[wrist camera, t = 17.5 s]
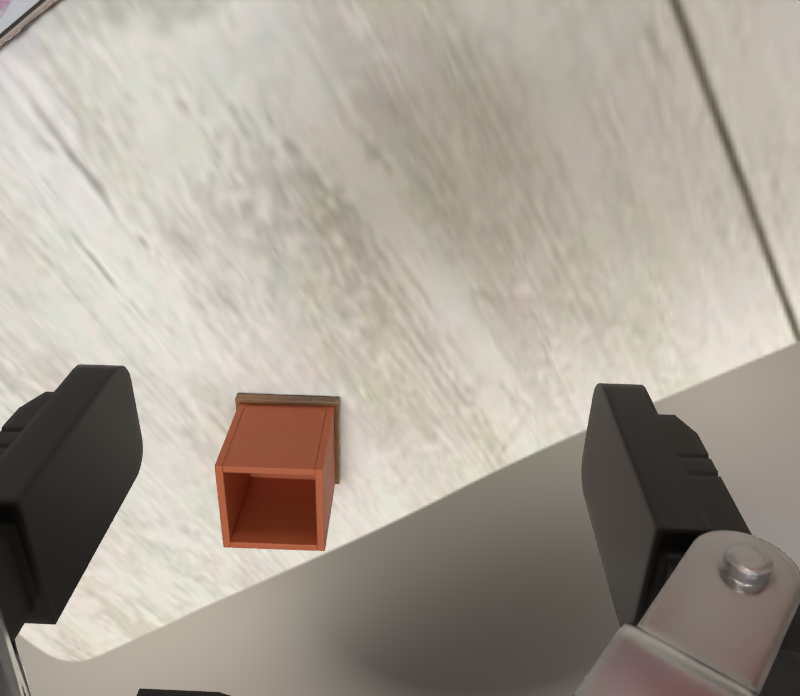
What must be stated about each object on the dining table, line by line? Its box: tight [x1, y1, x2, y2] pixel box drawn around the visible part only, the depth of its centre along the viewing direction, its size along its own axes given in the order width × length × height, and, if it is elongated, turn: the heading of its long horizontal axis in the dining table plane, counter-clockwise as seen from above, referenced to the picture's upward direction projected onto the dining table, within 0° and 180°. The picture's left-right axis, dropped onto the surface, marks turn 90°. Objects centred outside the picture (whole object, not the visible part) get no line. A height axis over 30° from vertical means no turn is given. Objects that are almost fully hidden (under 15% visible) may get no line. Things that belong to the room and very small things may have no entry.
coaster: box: [235, 394, 340, 484], centre depth 44 cm, size 6×6×1 cm
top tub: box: [215, 403, 335, 551], centre depth 41 cm, size 6×6×6 cm
